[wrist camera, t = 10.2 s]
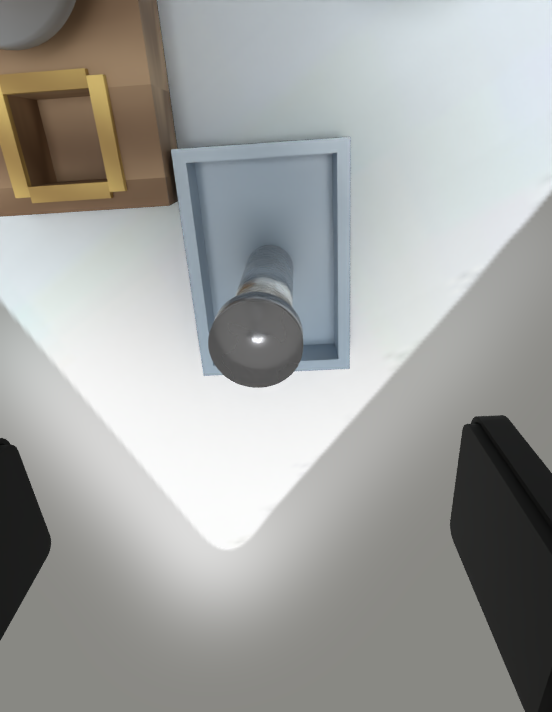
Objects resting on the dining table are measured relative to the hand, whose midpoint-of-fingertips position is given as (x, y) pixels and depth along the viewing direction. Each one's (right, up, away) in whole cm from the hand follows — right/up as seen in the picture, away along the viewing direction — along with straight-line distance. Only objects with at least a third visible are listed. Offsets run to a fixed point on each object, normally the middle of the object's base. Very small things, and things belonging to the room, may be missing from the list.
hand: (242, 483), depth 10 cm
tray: (0, +9, +20) cm, 22 cm away
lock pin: (0, +8, +19) cm, 21 cm away
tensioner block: (-10, +18, +16) cm, 26 cm away
